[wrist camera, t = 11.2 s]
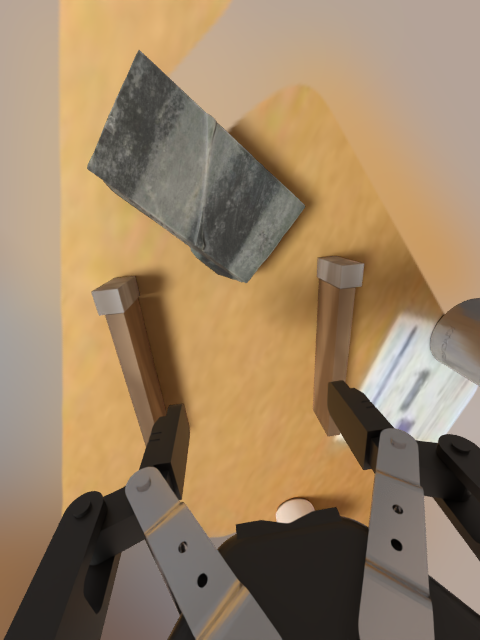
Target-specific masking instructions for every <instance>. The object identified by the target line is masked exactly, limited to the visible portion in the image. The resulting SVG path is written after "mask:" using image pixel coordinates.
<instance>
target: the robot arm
mask: <svg viewBox="0 0 480 640" xmlns="http://www.w3.org/2000/svg"><path fill="white" fill-rule="evenodd" d="M430 348H431V352H432V355H433V356H434V357H435V359H436V360H438V361H439V362H441V363H443V364H444V365H446V366H448V367H449V368H451V369H452V370H454V371H456V372H457V373H459V374H461V375H462V376H464V377H465V378H467V379H468V380H470V381H472V382H473V383H475V384H477V385H478V386H480V298H476V299H470V300H467V301H464V302H462V303H460V304H458V305H456V306H455V307H453V308H452V309H451V310H449V311H448V312H447V313H446V314H445V315H444V316H443V317H442V318H441V319H440V321H439V322H438V323H437V325H436V327H435V329H434V331H433V333H432V336H431V342H430ZM327 407H328V411H329V414H330V416H331V418H332V419H333V421H334V423H335V424H336V426H337V428H338V429H339V431H340V433H341V434H342V436H343V438H344V439H345V441H346V443H347V444H348V446H349V447H350V449H351V451H352V452H353V454H354V456H355V457H356V459H357V461H358V462H359V464H360V466H361V467H362V469H363V470H367V469H372V470H373V471H374V473H375V478H374V486H373V494H372V502H371V511H370V519H369V527H367V526H365V525H364V524H362V523H360V522H358V521H356V520H353V519H350V518H346V517H342V516H340V515H339V512H338V510H337V508H336V507H334V508H328V509H322V510H317V511H312V512H310V513H308V514H306V515H304V516H302V517H300V518H298V519H296V520H294V521H293V522H290V523H280V522H272V521H264V520H259V521H253V522H248V523H242V524H236V533H237V534H235V535H234V536H232V537H230V538H229V539H228V540H226V541H225V542H224V543H223V544H222V545H221V546H220V547H219V548H218V549H216V547H215V546H214V544H213V543H212V542H211V540H210V539H209V537H208V536H207V534H206V533H205V532H204V530H203V529H202V527H201V526H200V524H199V523H198V521H197V520H196V519H195V517H194V516H193V514H192V513H191V511H190V510H189V508H188V507H187V506H186V504H185V503H184V502H180V501H179V500H182V494H183V486H184V478H185V470H186V462H187V454H188V446H189V438H190V429H189V423H188V419H187V415H186V411H185V406H184V404H183V403H182V404H176V405H169V407H168V410H167V414H166V416H162V417H159V418H158V420H157V421H156V422H155V423H154V425H153V428H152V431H151V435H150V437H149V440H148V443H147V446H146V450H145V453H144V456H143V459H142V462H141V465H140V469H139V471H137V472H136V473H135V474H133V475H132V476H131V478H130V479H129V480H128V482H127V484H126V486H125V487H123V488H121V489H119V490H117V491H115V492H113V493H111V494H109V495H106V496H104V497H103V496H102V494H101V493H100V492H97V491H91V492H87V493H85V494H83V495H81V496H80V497H78V498H77V499H76V500H74V501H73V502H72V503H71V504H70V505H69V507H68V508H67V509H66V511H65V513H64V515H63V517H62V519H61V521H60V523H59V525H58V527H57V529H56V531H55V533H54V535H53V538H52V540H51V542H50V544H49V546H48V548H47V550H46V552H45V554H44V557H43V559H42V560H41V563H40V565H39V567H38V569H37V571H36V573H35V575H34V577H33V580H32V582H31V584H30V586H29V588H28V590H27V592H26V594H25V596H24V598H23V600H22V602H21V605H20V606H19V609H18V611H17V613H16V615H15V617H14V619H13V621H12V623H11V625H10V627H9V629H8V632H7V634H6V636H5V638H4V640H100V638H101V634H102V630H103V626H104V622H105V618H106V614H107V610H108V605H109V601H110V597H111V593H112V589H113V585H114V581H115V577H116V572H117V568H118V564H119V560H120V556H121V552H122V551H124V550H126V549H128V548H129V547H131V546H133V545H135V544H137V543H138V542H140V541H142V540H144V539H145V541H146V543H147V546H148V548H149V550H150V552H151V554H152V556H153V558H154V560H155V563H156V565H157V567H158V569H159V571H160V573H161V575H162V578H163V580H164V582H165V584H166V586H167V589H168V591H169V593H170V596H171V598H172V600H173V602H174V604H175V606H176V609H177V611H178V613H179V615H180V617H179V619H178V621H177V622H176V624H175V626H174V628H173V630H172V632H171V634H170V636H169V638H168V639H167V640H480V615H479V614H477V613H476V612H475V611H474V610H472V609H471V608H470V607H468V606H467V605H466V604H465V603H463V602H462V601H461V600H460V599H458V598H457V597H456V596H455V595H453V594H452V593H450V591H448V590H447V589H446V588H445V587H443V586H442V585H441V584H439V583H438V582H437V581H436V580H435V579H433V578H432V577H430V576H429V575H428V564H427V546H426V527H425V510H424V496H430V497H433V498H434V500H435V501H436V502H437V504H438V505H439V506H440V508H441V509H442V510H443V512H444V513H445V515H446V516H447V517H448V519H449V520H450V521H451V523H452V524H453V525H454V527H455V528H456V530H457V531H458V532H459V534H460V535H461V536H462V537H463V539H464V540H465V542H466V543H467V544H468V546H469V547H470V549H471V550H472V551H473V553H474V554H475V555H476V557H477V558H478V559H479V561H480V448H479V447H478V446H477V445H475V444H474V443H472V442H471V441H469V440H467V439H465V438H463V437H460V436H457V435H451V434H446V435H442V436H441V437H440V438H439V440H438V443H432V442H424V441H417V440H415V439H414V438H413V437H412V436H411V435H409V434H408V433H406V432H404V431H402V430H399V429H395V428H394V427H393V426H392V425H391V424H390V423H389V422H388V421H387V419H386V418H385V417H384V416H383V415H382V414H381V413H380V412H379V410H378V409H377V408H375V406H374V405H373V404H372V402H370V400H369V399H368V398H367V397H366V396H365V395H364V393H362V392H360V391H359V390H357V389H355V388H351V389H350V388H349V386H348V385H347V384H346V383H345V382H344V381H343V380H339V381H332V382H329V383H328V394H327Z"/></svg>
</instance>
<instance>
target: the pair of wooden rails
mask: <svg viewBox="0 0 480 640" xmlns="http://www.w3.org/2000/svg"><path fill="white" fill-rule="evenodd" d="M363 270H364V263H360V262H356V261H353V260H349V259H345V258H342V257H338V256H331V257H321V258H318V264H317V277H318V278H319V291H318V313H317V334H316V356H315V377H314V398H313V411H314V412H315V414H316V416H317V418H318V420H319V421H320V423H321V425H322V427H323V429H324V430H325V432H326V434H327V436H334V435H340V431H339V429H338V428H337V426H336V424H335V423H334V421H333V419H332V418H331V416H330V414H329V411H328V407H327V394H328V383H329V382H332V381H339V380H343V381H344V382H345V383H346V373H347V364H348V355H349V345H350V336H351V326H352V317H353V307H354V298H355V289H356V287H361V286H362V279H363ZM92 296H93V299H94V302H95V305H96V308H97V311H98V314H99V315H105V316H106V320H107V323H108V326H109V329H110V332H111V336H112V339H113V342H114V345H115V349H116V352H117V355H118V358H119V361H120V365H121V368H122V371H123V374H124V378H125V381H126V384H127V387H128V390H129V394H130V397H131V400H132V403H133V407H134V410H135V413H136V416H137V419H138V423H139V426H140V429H141V432H142V436H143V439H144V442H145V445H146V446H147V443H148V440H149V437H150V435H151V431H152V428H153V425H154V423H155V422H156V421H157V420H158V418H159V417H162V416H166V414H167V413H166V409H165V405H164V401H163V397H162V393H161V389H160V385H159V381H158V377H157V373H156V369H155V365H154V361H153V357H152V353H151V349H150V345H149V341H148V337H147V332H146V328H145V324H144V320H143V316H142V312H141V308H140V304H139V300H138V297H139V296H140V294H139V290H138V285H137V281H136V277H135V276H130V277H120V278H113V279H112V280H110V281H108V282H107V283H105V284H103V285H102V286H100V287H98V288H97V289H95V290H93V291H92Z"/></svg>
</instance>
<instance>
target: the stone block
mask: <svg viewBox="0 0 480 640" xmlns="http://www.w3.org/2000/svg"><path fill="white" fill-rule="evenodd" d="M87 169H88V170H89V171H91V172H92V173H94V174H95V175H96V176H98V177H99V178H101V179H102V180H103V181H104V182H105V183H106V185H107V186H108V187H109V188H110V189H111V190H112V191H113V192H115V193H116V194H117V195H118V196H120V197H121V198H122V199H124V200H125V201H127V202H128V203H129V204H131V205H132V206H134V207H135V208H136V209H138V210H139V211H141V212H142V213H144V214H145V215H146V216H148V217H149V218H151V219H152V220H154V221H155V222H156V223H158V224H159V225H161V226H162V227H163V228H165V229H166V230H168V231H169V232H170V233H172V234H173V235H174V236H176V237H177V238H179V239H180V240H181V241H183V242H184V243H185V244H187V245H188V246H189V247H190V248H191V251H192V253H193V254H194V255H195V256H196V258H198V259H199V260H200V261H201V262H203V263H204V264H205V265H206V266H208V267H209V268H210V269H212V270H213V271H214V272H215V273H217V274H218V275H221V276H225V277H228V278H230V279H234V280H237V281H240V282H245V283H247V282H248V281H249V280H250V279H251V277H252V276H253V275H254V273H255V272H256V271H257V270H258V268H259V267H260V266H261V264H262V263H263V262H264V261H265V260H266V259H267V258H268V257H269V255H270V254H271V253H272V252H273V250H274V249H275V247H276V246H277V245H278V243H279V242H280V240H281V239H282V237H283V236H284V234H285V233H286V232H287V231H288V230H289V228H290V227H291V226H292V224H293V223H294V222H295V220H296V219H297V218H298V216H299V215H300V214H301V212H302V211H303V209H304V208H305V205H304V204H303V203H302V202H301V201H300V200H299V199H298V198H297V197H296V196H295V195H294V194H293V193H292V192H290V191H289V190H288V189H287V188H286V187H285V186H284V185H283V184H282V183H281V182H280V181H279V180H278V179H277V178H276V177H274V176H273V175H272V174H271V173H270V172H269V171H268V170H267V169H265V168H264V166H263V165H262V164H260V163H259V162H258V161H257V160H256V159H255V158H254V157H253V156H252V155H251V154H250V153H249V152H248V151H247V150H246V149H245V148H244V147H243V146H242V145H241V144H239V143H238V142H237V141H236V140H235V139H234V138H233V137H232V136H231V135H230V134H229V133H228V132H227V131H226V130H225V129H224V128H223V127H221V126H220V125H219V124H218V123H217V122H216V120H215V119H214V118H213V117H212V116H211V115H209V114H207V113H206V112H205V111H204V110H203V109H201V108H200V107H199V106H198V105H197V104H196V103H195V102H194V101H193V100H192V99H191V98H190V97H189V96H187V94H186V93H184V91H182V90H181V89H180V88H179V87H178V86H177V85H176V84H175V83H174V82H173V81H172V80H171V79H170V78H169V77H168V76H166V75H165V74H164V73H163V72H162V71H161V70H160V69H159V68H158V67H157V66H156V65H155V64H154V63H153V62H152V61H151V60H150V59H148V58H147V57H146V56H145V55H144V54H143V53H142V52H141V51H140V50H139V51H138V53H137V54H136V56H135V59H134V61H133V63H132V65H131V68H130V70H129V72H128V75H127V77H126V79H125V81H124V83H123V85H122V87H121V90H120V92H119V94H118V96H117V98H116V100H115V103H114V105H113V108H112V110H111V112H110V114H109V116H108V119H107V121H106V124H105V126H104V128H103V131H102V134H101V136H100V139H99V141H98V144H97V146H96V148H95V151H94V153H93V155H92V157H91V159H90V161H89V163H88V167H87Z"/></svg>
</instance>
